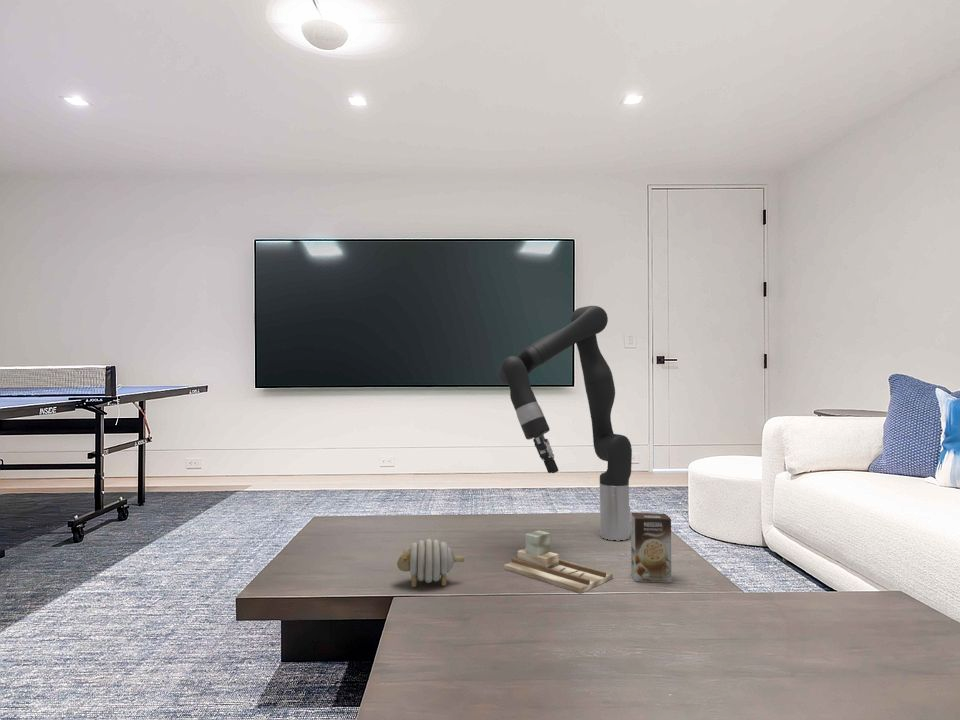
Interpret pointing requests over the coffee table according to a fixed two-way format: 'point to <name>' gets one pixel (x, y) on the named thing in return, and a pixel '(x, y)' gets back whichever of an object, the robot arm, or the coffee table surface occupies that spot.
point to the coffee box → (651, 547)
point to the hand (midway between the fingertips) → (553, 472)
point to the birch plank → (561, 574)
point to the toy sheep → (428, 561)
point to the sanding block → (538, 550)
